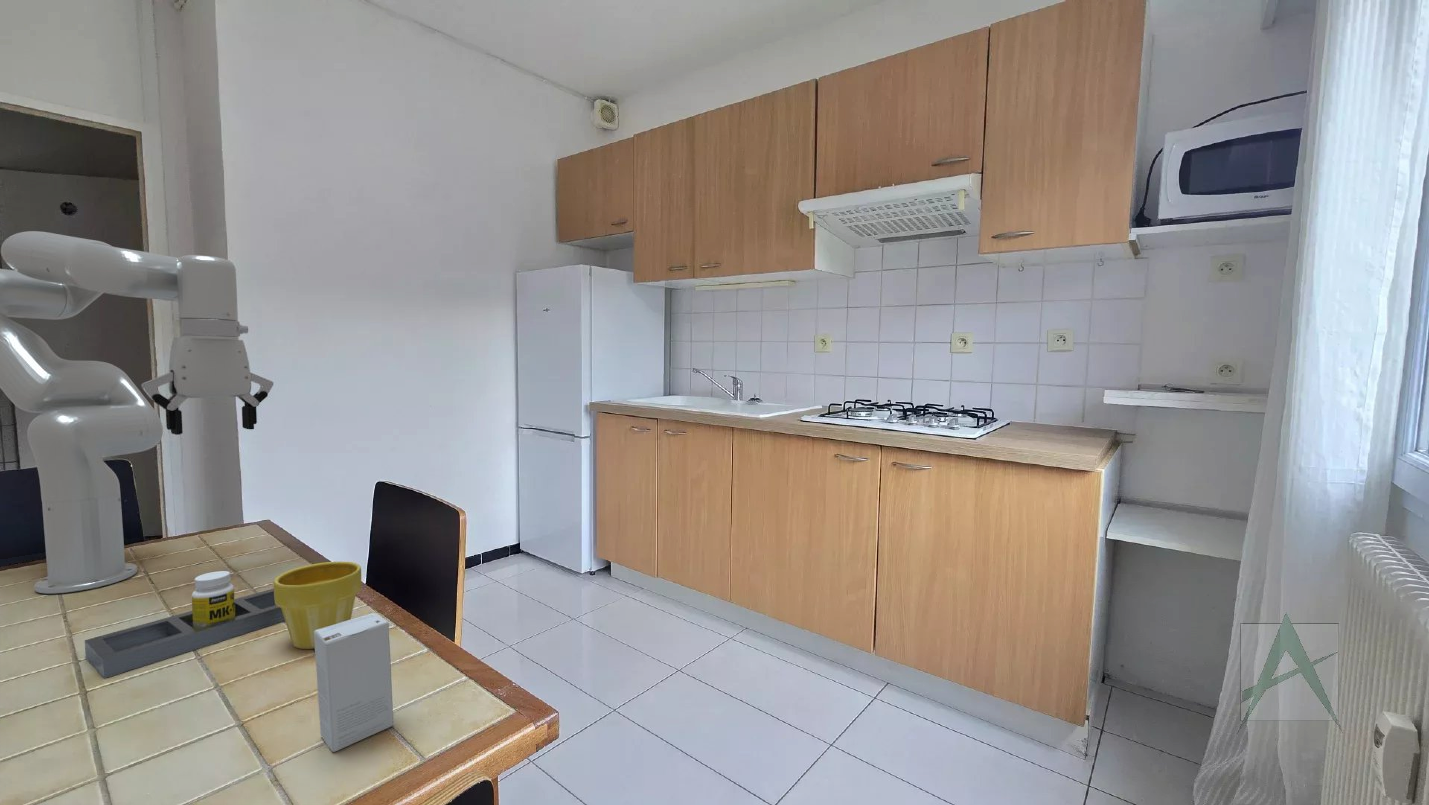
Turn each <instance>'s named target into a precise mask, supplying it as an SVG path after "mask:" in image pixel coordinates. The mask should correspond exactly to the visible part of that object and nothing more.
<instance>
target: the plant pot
mask: <svg viewBox="0 0 1429 805" xmlns="http://www.w3.org/2000/svg"><path fill="white" fill-rule="evenodd" d="M272 585H273V588H274V599H275V604H276V605H277V606H278V607H280V608H281V609H282V612H283V615H284V618H285V621H284V622H285V625H286V627H287V631H288V634H289V636H290V641H291V643H292V645H293V647H295V648H297V649H301V650H303V649H304V650H309V649H310V650H311V649H312V650H313V649H315V642H314V631H315V630H318V629H321V628H325V627H328V626H331V625H335V624H338V623H341V622H345V621H348V620H351V619H352V614H353V610H354V606H355V601H356V595H357V594H358V593H359V592H360V591H361V588H362V567H361V566H360V564H358V563H356V562H352V561H327V562H318V563H313V564H307V565H303V566H300V567H296V568H293V569H291V570H287V571H285V572H283V573H281V574H279V575H278V576H276V577H275V578H274V580H273V584H272Z"/></svg>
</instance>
